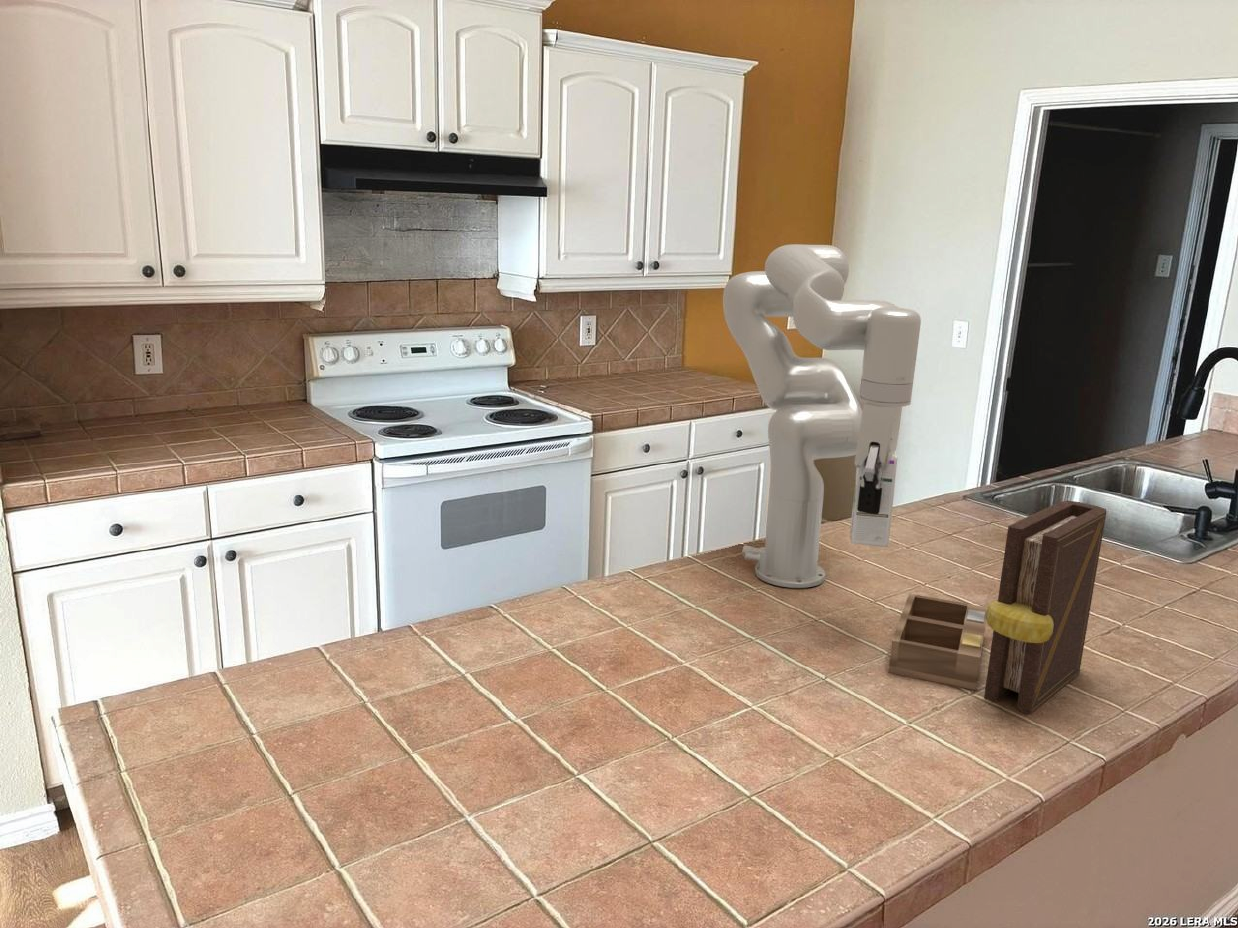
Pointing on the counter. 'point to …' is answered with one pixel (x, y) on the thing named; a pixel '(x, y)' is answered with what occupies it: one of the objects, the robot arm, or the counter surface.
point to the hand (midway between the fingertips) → (872, 504)
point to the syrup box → (874, 526)
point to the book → (1043, 603)
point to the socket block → (939, 641)
